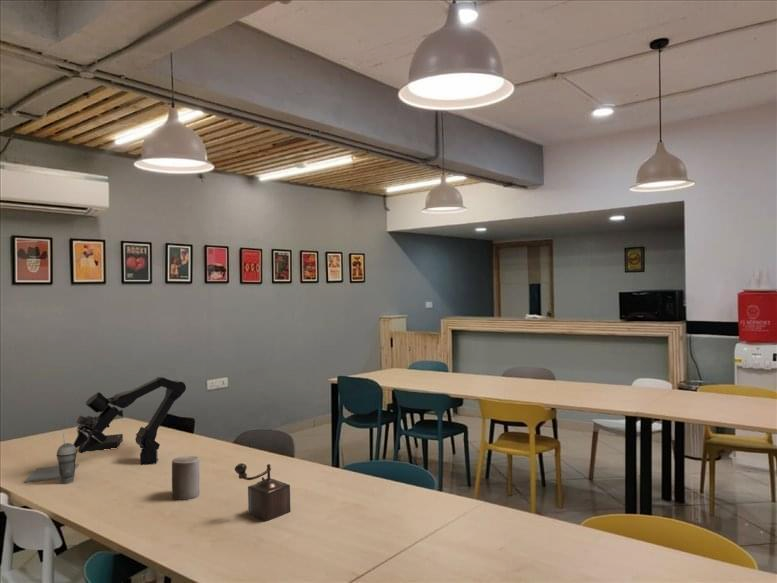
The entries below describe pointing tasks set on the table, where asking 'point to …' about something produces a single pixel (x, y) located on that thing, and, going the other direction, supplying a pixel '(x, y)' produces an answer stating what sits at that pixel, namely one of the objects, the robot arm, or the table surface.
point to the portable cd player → (107, 443)
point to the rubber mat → (45, 474)
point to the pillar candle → (185, 477)
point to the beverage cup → (66, 462)
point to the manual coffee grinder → (266, 495)
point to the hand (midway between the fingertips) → (76, 450)
